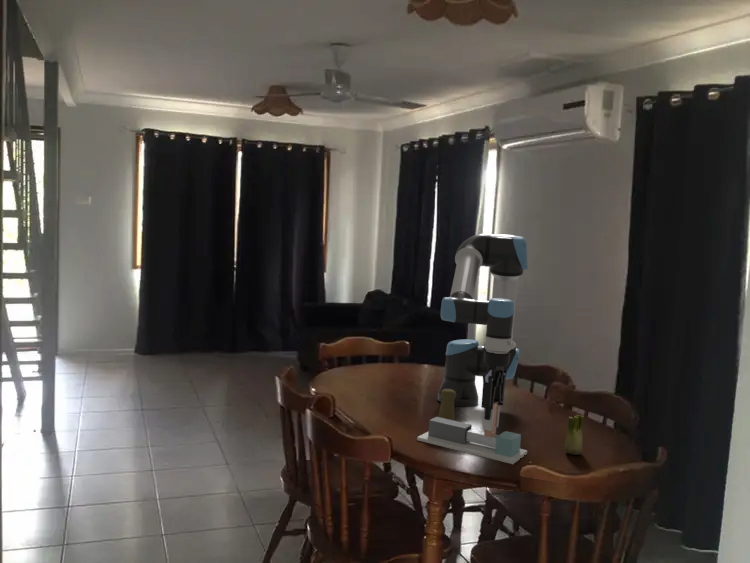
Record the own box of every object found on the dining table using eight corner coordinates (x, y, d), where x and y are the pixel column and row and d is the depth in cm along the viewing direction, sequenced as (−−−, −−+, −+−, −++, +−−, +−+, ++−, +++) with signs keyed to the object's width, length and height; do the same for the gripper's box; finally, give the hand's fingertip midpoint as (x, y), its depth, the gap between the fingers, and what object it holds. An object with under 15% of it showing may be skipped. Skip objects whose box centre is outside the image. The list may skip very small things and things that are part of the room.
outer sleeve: (428, 435, 223) (429, 420, 222) (435, 432, 227) (436, 416, 227) (463, 444, 217) (465, 428, 216) (470, 440, 221) (471, 424, 221)
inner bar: (452, 437, 219) (456, 396, 218) (458, 434, 223) (461, 393, 221) (502, 450, 211) (506, 406, 210) (507, 446, 215) (511, 404, 213)
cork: (456, 420, 245) (459, 388, 244) (452, 425, 240) (455, 392, 239) (439, 417, 247) (442, 386, 246) (435, 422, 242) (437, 390, 241)
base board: (417, 440, 221) (417, 436, 221) (434, 431, 231) (434, 428, 231) (513, 464, 205) (513, 460, 205) (527, 453, 216) (527, 450, 216)
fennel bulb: (566, 456, 216) (569, 417, 215) (560, 450, 221) (564, 412, 220) (584, 457, 216) (588, 418, 215) (579, 451, 221) (583, 413, 220)
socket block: (495, 453, 211) (496, 436, 210) (503, 447, 217) (505, 431, 216) (511, 457, 208) (512, 440, 208) (519, 451, 214) (521, 434, 214)
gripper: (498, 357, 203) (491, 437, 206) (519, 349, 218) (512, 424, 220) (473, 352, 207) (467, 431, 209) (496, 345, 222) (489, 419, 224)
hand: (490, 427), depth 215 cm, fingers closed on inner bar, 4 cm apart
